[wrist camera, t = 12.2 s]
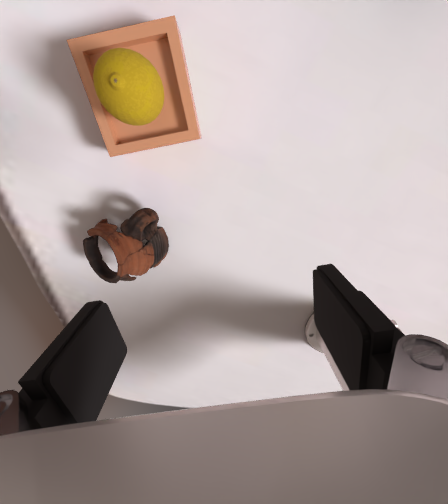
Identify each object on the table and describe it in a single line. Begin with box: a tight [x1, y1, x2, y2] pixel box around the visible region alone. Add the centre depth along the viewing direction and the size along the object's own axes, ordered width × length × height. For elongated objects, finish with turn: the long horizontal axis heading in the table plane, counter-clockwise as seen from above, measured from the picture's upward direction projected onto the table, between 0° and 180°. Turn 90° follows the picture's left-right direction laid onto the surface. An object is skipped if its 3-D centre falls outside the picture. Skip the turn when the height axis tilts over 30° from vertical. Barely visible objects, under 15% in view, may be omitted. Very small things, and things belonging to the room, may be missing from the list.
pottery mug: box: [83, 208, 169, 283], centre depth 32 cm, size 12×10×8 cm
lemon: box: [93, 48, 164, 126], centre depth 21 cm, size 6×6×8 cm
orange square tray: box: [67, 16, 201, 157], centre depth 25 cm, size 10×10×4 cm
